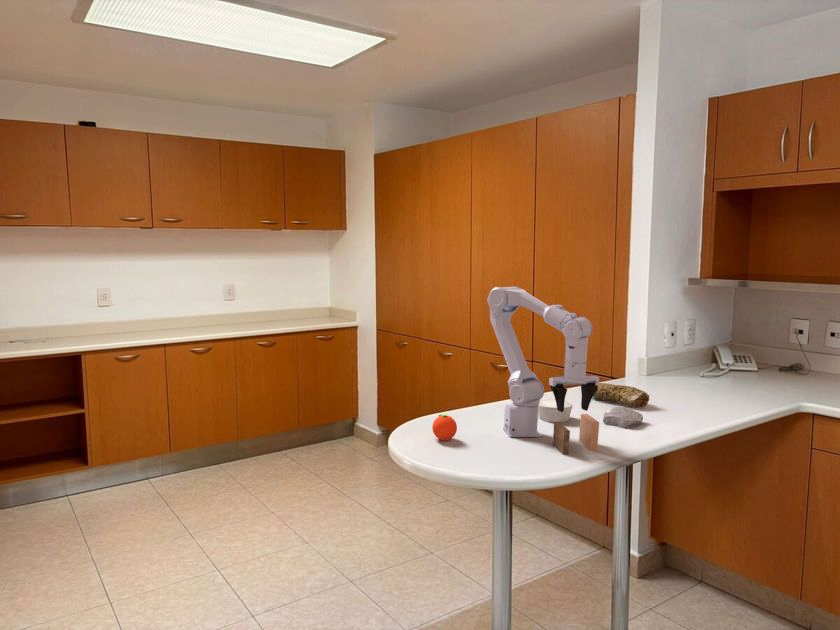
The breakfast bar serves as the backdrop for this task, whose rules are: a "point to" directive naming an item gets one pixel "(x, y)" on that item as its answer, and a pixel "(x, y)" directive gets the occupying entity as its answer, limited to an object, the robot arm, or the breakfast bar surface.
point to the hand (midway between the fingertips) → (572, 410)
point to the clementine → (444, 427)
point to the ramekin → (553, 411)
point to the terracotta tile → (589, 432)
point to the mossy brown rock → (621, 395)
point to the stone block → (622, 417)
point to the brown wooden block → (561, 438)
